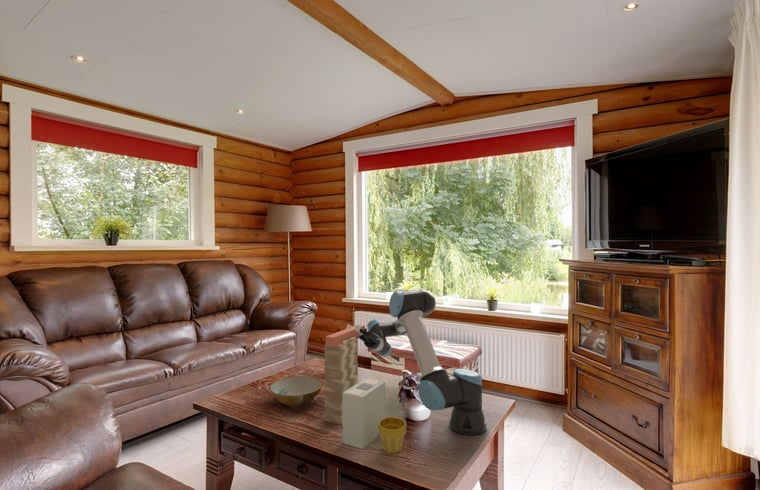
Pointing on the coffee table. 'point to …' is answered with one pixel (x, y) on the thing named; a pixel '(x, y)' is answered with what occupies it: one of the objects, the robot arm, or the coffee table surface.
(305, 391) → the bowl
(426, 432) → the coffee table surface
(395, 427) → the plant pot
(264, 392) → the coffee table surface
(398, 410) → the coffee table surface
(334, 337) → the coral square-faced block
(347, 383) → the birch stand
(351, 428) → the pale green paneled block
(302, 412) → the coffee table surface
